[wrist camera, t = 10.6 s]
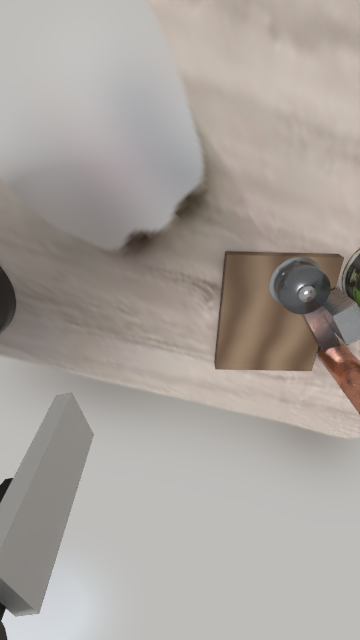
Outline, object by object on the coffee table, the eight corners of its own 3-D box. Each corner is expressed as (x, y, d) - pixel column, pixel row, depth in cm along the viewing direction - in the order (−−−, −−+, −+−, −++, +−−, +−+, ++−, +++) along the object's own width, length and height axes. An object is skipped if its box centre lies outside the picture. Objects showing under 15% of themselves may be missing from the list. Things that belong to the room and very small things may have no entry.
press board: (214, 363, 48) (215, 370, 46) (225, 251, 39) (227, 255, 38) (307, 365, 48) (312, 371, 46) (338, 254, 40) (344, 258, 38)
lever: (266, 277, 39) (295, 316, 29) (318, 247, 37) (368, 277, 27) (318, 370, 46) (355, 426, 36) (364, 348, 44) (417, 400, 34)
